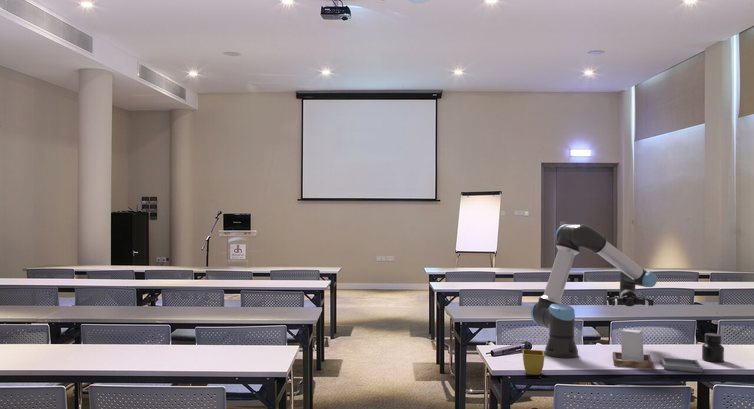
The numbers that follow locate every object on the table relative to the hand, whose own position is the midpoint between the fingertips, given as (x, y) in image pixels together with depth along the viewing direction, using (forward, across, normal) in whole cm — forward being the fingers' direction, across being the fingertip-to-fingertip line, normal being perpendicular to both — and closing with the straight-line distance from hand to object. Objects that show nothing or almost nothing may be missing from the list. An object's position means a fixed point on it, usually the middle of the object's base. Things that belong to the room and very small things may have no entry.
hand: (631, 304), depth 289 cm
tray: (+12, -19, -25) cm, 34 cm away
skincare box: (+12, +1, -25) cm, 28 cm away
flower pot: (+47, +42, -24) cm, 67 cm away
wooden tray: (+12, +1, -25) cm, 28 cm away
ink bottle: (-7, -35, -26) cm, 44 cm away
